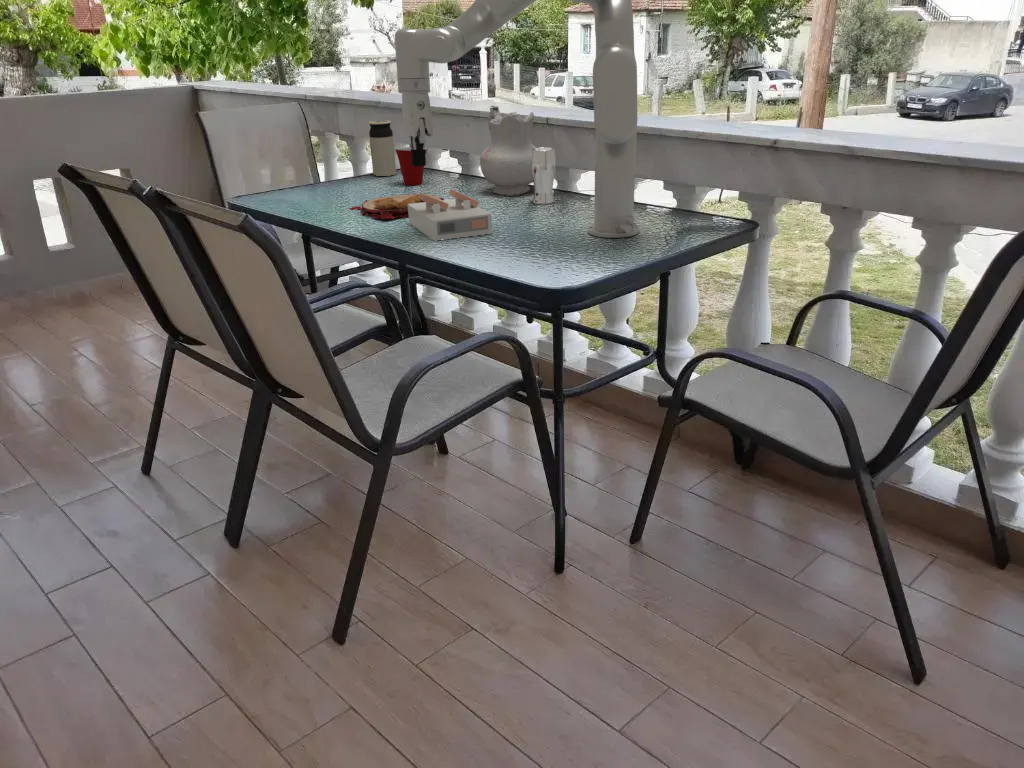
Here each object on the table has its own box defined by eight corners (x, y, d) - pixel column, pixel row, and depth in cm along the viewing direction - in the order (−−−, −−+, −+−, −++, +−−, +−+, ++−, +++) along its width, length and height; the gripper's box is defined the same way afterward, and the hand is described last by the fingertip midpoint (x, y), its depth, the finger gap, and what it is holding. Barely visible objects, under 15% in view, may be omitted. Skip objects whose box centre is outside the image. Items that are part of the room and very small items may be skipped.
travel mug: (398, 173, 281) (394, 120, 273) (392, 177, 274) (387, 122, 266) (377, 173, 282) (371, 120, 275) (370, 177, 275) (365, 123, 267)
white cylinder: (556, 199, 232) (555, 146, 225) (554, 204, 225) (554, 150, 219) (532, 199, 232) (531, 147, 226) (530, 204, 226) (529, 150, 220)
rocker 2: (476, 209, 201) (479, 201, 200) (453, 199, 197) (457, 191, 197) (469, 205, 205) (472, 197, 205) (447, 195, 202) (450, 188, 202)
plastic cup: (436, 182, 262) (434, 145, 257) (416, 188, 254) (413, 149, 249) (411, 180, 268) (408, 143, 263) (390, 185, 259) (387, 147, 254)
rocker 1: (446, 212, 198) (449, 204, 198) (423, 203, 195) (425, 195, 194) (440, 207, 203) (442, 200, 202) (416, 199, 199) (419, 191, 199)
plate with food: (463, 209, 227) (463, 197, 225) (384, 222, 211) (383, 209, 210) (415, 199, 244) (415, 187, 243) (339, 210, 229) (338, 198, 227)
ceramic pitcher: (464, 194, 248) (455, 112, 236) (508, 180, 259) (502, 101, 248) (513, 204, 234) (506, 116, 222) (557, 188, 245) (553, 104, 234)
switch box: (492, 234, 196) (491, 205, 193) (434, 241, 191) (432, 211, 188) (462, 216, 215) (461, 189, 212) (409, 223, 209) (406, 195, 206)
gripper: (438, 87, 181) (442, 169, 189) (420, 83, 194) (424, 160, 201) (407, 88, 179) (412, 171, 186) (390, 84, 191) (395, 162, 199)
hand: (418, 165), depth 194 cm, fingers closed
